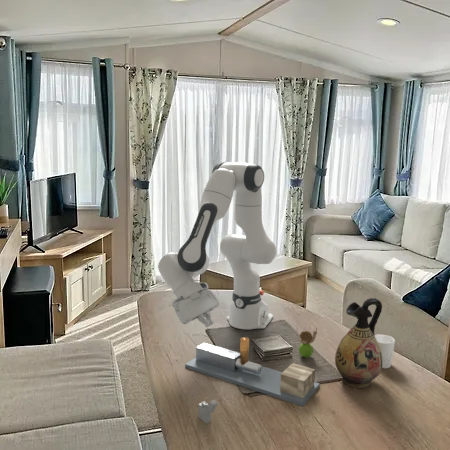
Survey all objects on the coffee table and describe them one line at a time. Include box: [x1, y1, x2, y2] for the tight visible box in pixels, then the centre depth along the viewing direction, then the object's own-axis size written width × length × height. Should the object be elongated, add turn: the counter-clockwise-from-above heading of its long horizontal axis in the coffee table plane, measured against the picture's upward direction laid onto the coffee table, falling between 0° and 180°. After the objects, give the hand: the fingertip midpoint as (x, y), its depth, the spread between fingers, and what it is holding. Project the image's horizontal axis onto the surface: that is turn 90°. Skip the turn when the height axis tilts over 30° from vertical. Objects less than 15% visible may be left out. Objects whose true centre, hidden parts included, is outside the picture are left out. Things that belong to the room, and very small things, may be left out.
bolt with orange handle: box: [235, 336, 263, 374], centre depth 173 cm, size 3×24×11 cm, turn 58°
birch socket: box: [280, 362, 316, 398], centre depth 160 cm, size 9×8×6 cm
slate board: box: [184, 356, 320, 407], centre depth 170 cm, size 14×45×1 cm, turn 58°
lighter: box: [197, 399, 218, 424], centre depth 143 cm, size 7×2×8 cm, turn 38°
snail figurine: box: [298, 327, 318, 359], centre depth 185 cm, size 5×6×12 cm
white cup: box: [374, 333, 396, 369], centre depth 180 cm, size 8×8×10 cm
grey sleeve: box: [195, 342, 240, 372], centre depth 176 cm, size 5×16×5 cm, turn 58°
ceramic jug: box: [334, 297, 383, 389], centre depth 166 cm, size 17×15×30 cm
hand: (210, 325), depth 176 cm, fingers closed
